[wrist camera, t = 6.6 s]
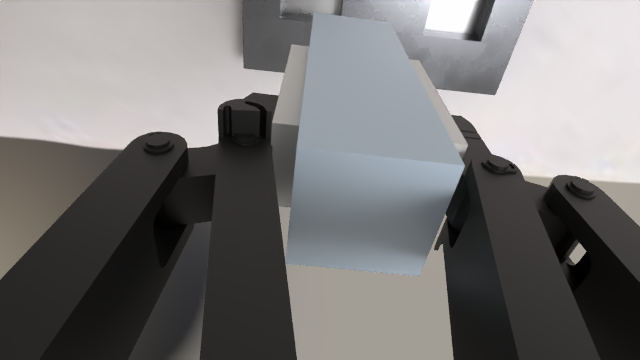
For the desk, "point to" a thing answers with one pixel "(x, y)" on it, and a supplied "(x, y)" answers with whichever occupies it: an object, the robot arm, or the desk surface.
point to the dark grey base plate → (400, 34)
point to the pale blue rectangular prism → (367, 154)
